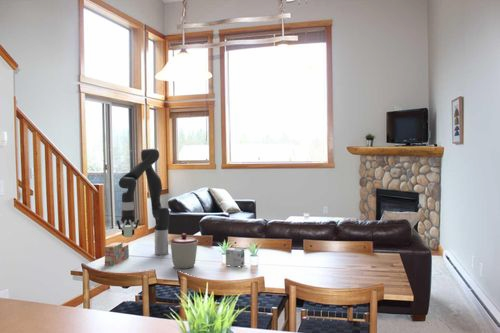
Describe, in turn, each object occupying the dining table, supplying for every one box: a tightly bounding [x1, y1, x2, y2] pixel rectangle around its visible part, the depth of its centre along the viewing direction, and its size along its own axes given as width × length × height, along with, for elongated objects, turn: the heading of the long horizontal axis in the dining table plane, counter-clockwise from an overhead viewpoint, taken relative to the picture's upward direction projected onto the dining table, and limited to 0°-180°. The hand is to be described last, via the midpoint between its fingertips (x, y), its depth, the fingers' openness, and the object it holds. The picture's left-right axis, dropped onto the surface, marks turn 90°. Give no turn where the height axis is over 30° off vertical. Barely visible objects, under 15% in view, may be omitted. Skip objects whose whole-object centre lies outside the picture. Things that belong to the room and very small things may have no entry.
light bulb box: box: [225, 247, 246, 268], centre depth 273 cm, size 11×7×11 cm, turn 71°
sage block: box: [123, 225, 133, 238], centre depth 271 cm, size 5×5×6 cm
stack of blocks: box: [104, 242, 130, 267], centre depth 282 cm, size 21×6×12 cm, turn 170°
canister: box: [168, 232, 199, 270], centre depth 269 cm, size 18×18×21 cm
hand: (128, 235), depth 271 cm, fingers closed on sage block, 5 cm apart
